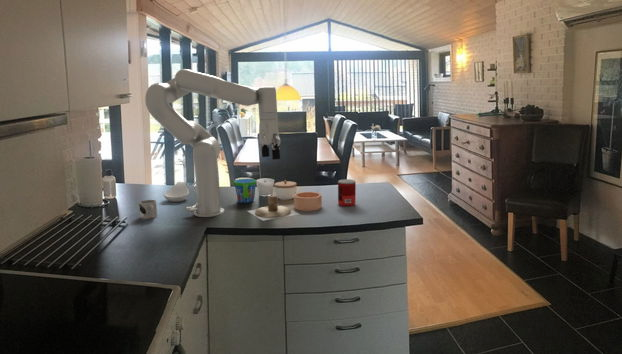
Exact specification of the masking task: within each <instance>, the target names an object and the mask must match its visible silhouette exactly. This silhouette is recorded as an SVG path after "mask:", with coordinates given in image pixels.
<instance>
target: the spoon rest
mask: <svg viewBox="0 0 622 354" xmlns="http://www.w3.org/2000/svg"><path fill="white" fill-rule="evenodd" d="M189 195H190V188H189V184H188V182H187V181H177V182H176V183H175V184H174V185H173V186H172V187H171V188H169V189H168V190H166V191H165V192H164V193H163V197H164V199H166V200H167V201H169V202H173V203H179V202H183V201H185V200H186V199H187V198H188V197H189Z"/></svg>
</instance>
